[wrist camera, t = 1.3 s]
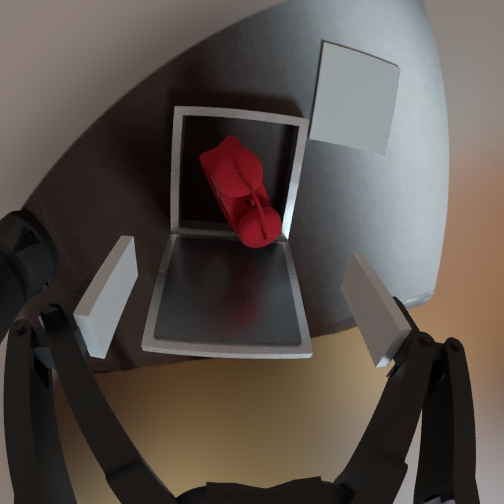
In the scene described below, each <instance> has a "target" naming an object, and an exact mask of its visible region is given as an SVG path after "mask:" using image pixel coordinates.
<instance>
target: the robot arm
mask: <svg viewBox="0 0 504 504" xmlns="http://www.w3.org/2000/svg"><path fill="white" fill-rule="evenodd" d="M58 268H59V260H58V254H57V250H56V247H55V245H54V242H53V240H52V238H51V237H50V235H49V233H48V232H47V230H46V229H45V228H44V226H43V225H42V224H41V223H40V222H39V221H38V220H37V219H36V218H34V217H33V216H31V215H30V214H28V213H25V212H22V211H12V212H10V213H9V214H7V215H6V216H5V217H4V218H2V219H1V220H0V345H1V342H2V341H3V339H4V337H5V335H6V334H7V332H8V330H9V334H8V341H7V350H6V359H5V373H4V428H5V440H6V450H7V458H8V464H9V470H10V476H11V481H12V486H13V491H14V504H77V502H76V499H75V495H74V492H73V489H72V486H71V483H70V479H69V475H68V472H67V468H66V464H65V460H64V456H63V451H62V447H61V442H60V437H59V431H58V425H57V419H56V412H55V404H54V395H53V384H52V368H56V370H57V373H58V376H59V379H60V382H61V384H62V387H63V390H64V392H65V395H66V397H67V400H68V402H69V405H70V407H71V409H72V411H73V414H74V416H75V418H76V420H77V422H78V425H79V427H80V429H81V431H82V433H83V435H84V437H85V439H86V441H87V443H88V444H89V447H90V448H91V450H92V452H93V454H94V456H95V457H96V459H97V461H98V463H99V464H100V466H101V468H102V469H103V471H104V473H105V475H106V480H107V483H108V484H109V486H110V488H111V489H112V491H113V492H114V494H115V495H116V496H117V498H118V499H119V501H120V502H121V503H122V504H393V502H394V500H395V498H396V495H397V493H398V491H399V489H400V486H401V484H402V482H403V480H404V477H405V475H406V473H407V469H408V465H407V464H406V463H405V458H406V455H407V453H408V450H409V447H410V444H411V442H412V439H413V436H414V433H415V430H416V427H417V423H418V420H419V417H420V413H421V410H422V427H421V443H420V453H419V462H418V470H417V477H416V483H415V489H414V499H413V504H480V501H479V495H478V489H477V484H476V480H475V471H476V440H475V439H476V437H475V420H474V409H473V399H472V392H471V384H470V378H469V372H468V367H467V361H466V356H465V351H464V347H463V345H462V344H461V342H460V341H459V340H457V339H455V338H452V337H450V338H448V339H447V340H446V341H445V343H444V344H442V343H437V342H435V341H434V339H433V338H432V337H431V336H430V335H429V334H427V333H425V332H420V331H419V329H418V327H417V326H416V324H415V323H414V321H413V319H412V318H411V316H410V315H409V313H408V311H407V310H406V308H405V307H404V305H403V304H402V302H401V301H400V300H398V299H397V298H396V297H392V296H391V294H390V293H389V291H388V290H387V288H386V287H385V285H384V284H383V282H382V281H381V279H380V278H379V276H378V275H377V273H376V272H375V270H374V269H373V267H372V266H371V264H370V263H369V262H368V260H367V259H366V257H365V256H364V254H359V253H352V256H351V259H350V262H349V265H348V268H347V271H346V274H345V277H344V279H343V282H342V285H341V288H340V289H341V291H342V293H343V295H344V297H345V299H346V301H347V303H348V306H349V308H350V310H351V312H352V314H353V316H354V319H355V321H356V323H357V325H358V327H359V329H360V332H361V334H362V336H363V338H364V341H365V343H366V345H367V348H368V350H369V352H370V355H371V357H372V359H373V362H374V364H375V367H382V366H387V365H388V364H389V363H390V362H391V360H392V359H394V361H395V365H394V366H393V368H392V369H391V370H390V372H389V373H388V374H387V376H386V377H388V376H389V378H388V381H387V383H386V386H385V388H384V391H383V393H382V395H381V398H380V400H379V403H378V405H377V407H376V409H375V412H374V414H373V416H372V418H371V420H370V423H369V425H368V426H367V428H366V431H365V433H364V434H363V436H362V438H361V441H360V442H359V444H358V446H357V448H356V450H355V452H354V453H353V455H352V457H351V459H350V461H349V462H348V464H347V466H346V467H345V469H344V470H343V472H342V473H341V474H340V475H339V476H338V477H337V478H336V479H335V481H334V482H333V483H331V482H327V481H321V477H320V476H318V477H312V478H305V479H297V480H292V481H290V482H286V483H283V484H280V485H277V486H274V487H270V488H265V489H264V488H258V487H252V486H248V485H243V484H237V483H214V482H212V483H211V482H206V486H202V487H198V488H194V489H191V490H189V491H187V492H184V493H183V494H181V495H179V496H178V497H177V498H175V497H174V495H173V494H172V493H171V492H170V491H169V490H168V488H167V487H166V486H165V485H164V484H163V483H162V481H161V480H160V479H159V478H158V477H157V476H156V474H155V473H154V472H153V470H152V469H151V468H150V466H149V465H148V464H147V462H146V461H145V460H144V458H143V457H142V455H141V454H140V453H139V451H138V450H137V449H136V447H135V445H134V444H133V442H132V441H131V439H130V438H129V436H128V435H127V433H126V432H125V430H124V429H123V427H122V425H121V424H120V422H119V420H118V419H117V417H116V416H115V414H114V412H113V410H112V409H111V407H110V405H109V403H108V402H107V400H106V398H105V396H104V395H103V392H102V390H101V388H100V387H99V384H98V382H97V381H96V378H95V377H94V374H93V372H92V370H91V368H90V366H89V364H88V362H87V359H86V357H85V352H86V350H87V349H88V351H89V354H90V356H93V357H98V358H103V359H105V356H106V353H107V351H108V348H109V345H110V342H111V340H112V337H113V334H114V332H115V329H116V327H117V324H118V321H119V319H120V316H121V314H122V311H123V309H124V307H125V304H126V302H127V299H128V297H129V295H130V292H131V290H132V288H133V285H134V283H135V281H136V279H137V276H138V272H137V264H136V256H135V247H134V237H133V236H121V237H120V239H119V240H118V242H117V243H116V245H115V246H114V248H113V249H112V251H111V252H110V254H109V255H108V257H107V258H106V260H105V261H104V263H103V264H102V266H101V267H100V269H99V271H98V272H97V274H96V275H95V277H94V279H85V280H83V281H82V282H81V283H80V284H78V286H77V288H76V289H75V291H74V292H73V294H72V295H71V298H70V299H69V300H68V302H67V304H66V305H65V307H64V306H63V305H62V304H61V303H59V302H49V303H47V304H45V305H44V306H43V307H42V308H41V309H40V310H39V312H38V317H39V320H40V322H41V324H42V326H38V327H32V325H31V323H30V322H29V321H28V320H26V319H20V320H17V321H16V322H14V320H15V319H16V317H17V315H18V314H19V312H20V311H21V309H22V307H23V306H24V304H25V303H26V302H27V300H29V299H30V298H32V297H33V296H35V295H37V294H38V293H40V292H42V291H43V290H45V289H46V288H48V287H49V286H50V284H51V283H52V282H53V280H54V279H55V278H56V276H57V273H58ZM13 322H14V323H13ZM12 323H13V324H12ZM9 328H10V329H9Z"/></svg>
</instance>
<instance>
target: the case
mask: <svg viewBox="0 0 504 504" xmlns="http://www.w3.org/2000/svg"><path fill="white" fill-rule="evenodd" d="M186 115H197V116H216V117H230V118H241V119H251V120H260V121H268V122H275V123H282V124H289V125H295V127H294V133H293V139H292V146H291V152H290V158H289V164H288V170H287V176H286V182H285V188H284V194H283V200H282V206H281V211H280V218H281V222H282V226H281V231H280V234H279V235H278V236H277V238H276V239H275V240H274V241H281V242H288V234H289V229H290V224H291V219H292V214H293V209H294V204H295V199H296V193H297V188H298V183H299V177H300V172H301V166H302V160H303V155H304V149H305V143H306V137H307V131H308V125H309V119H306V118H302V117H296V116H290V115H283V114H277V113H269V112H262V111H253V110H244V109H233V108H220V107H202V106H175V108H174V121H173V137H172V159H171V232H170V234H181V235H197V236H212V237H226V238H239V236H238V234H235V233H234V232H233V230H232V228H231V227H230V225H229V223H222V222H207V221H192V220H182V178H183V156H184V139H185V124H186Z"/></svg>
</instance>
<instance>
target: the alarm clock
mask: <svg viewBox="0 0 504 504" xmlns="http://www.w3.org/2000/svg"><path fill="white" fill-rule="evenodd" d="M199 158H200V161H201V164H202V167H203V169H204V172H205V174H206V177H207V179H208V182H209V184H210V186H211V188H212V191H213V193H214V195H215V197H216V199H217V201H218V203H219V205H220V208H221V210H222V212H223V213H224V215H225V217H226V219H227V221H228V223H229V225H230V227H231V228H232V230H233V232H234V233H235V234H238V236H239V238H240V240H241V242H242V243H243V244H244V245H246V246H247V247H250V248H260V247H263V246H266V245H268V244H270V243H271V242H272V241H274V240H275V239H276V238H277V236H278V235H279V234H280V231H281V226H282V222H281V218H280V216H279V214H278V213H277V211H275V210H274V209H273V208H272V207H271V206H270V202H269V199H268V196H267V193H266V190H265V188H264V185H263V182H262V178H263V169H262V165H261V162H260V160H259V159H258V157H257V156H256V155H255V154H254V153H253V152H252V151H250V150H248V149H246V148H244V147H243V145H242V144H241V143H240V142H239V140H238V139H237V138H236V137H234V136H232V135H230V136H227V137H226V138H225V139H224V141H223V142H222V143H220V144H219V145H218V146H217V147H216V148H214V149H212V150H209V151H207V152H204V153H202V155H200V156H199Z"/></svg>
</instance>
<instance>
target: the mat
mask: <svg viewBox="0 0 504 504" xmlns="http://www.w3.org/2000/svg"><path fill="white" fill-rule="evenodd" d="M399 75H400V68H399V67H397V66H394V65H392V64H390V63H387V62H385V61H382V60H379V59H377V58H374V57H371V56H368V55H366V54H363V53H360V52H357V51H354V50H350V49H347V48H344V47H341V46H337V45H333V44H330V43H326V42H323V47H322V55H321V62H320V69H319V76H318V83H317V90H316V96H315V103H314V109H313V115H312V122H311V128H310V134H309V139H313V140H319V141H324V142H329V143H334V144H339V145H344V146H348V147H353V148H357V149H361V150H366V151H370V152H374V153H378V154H382V155H385V153H386V148H387V144H388V139H389V134H390V129H391V124H392V119H393V113H394V108H395V102H396V95H397V89H398V82H399Z"/></svg>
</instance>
